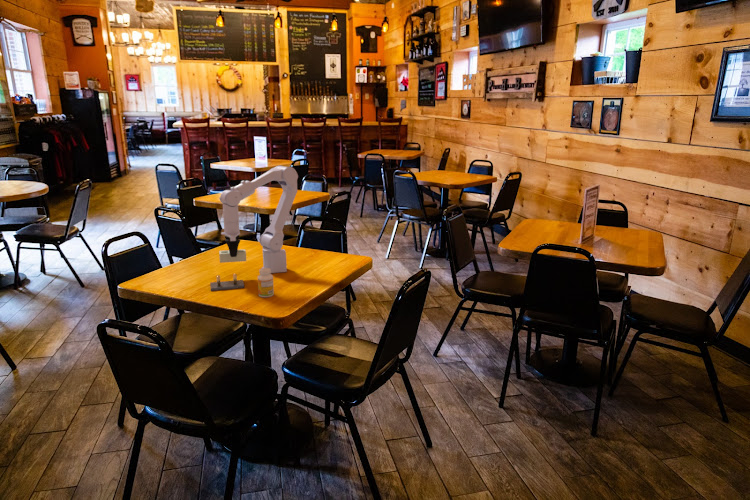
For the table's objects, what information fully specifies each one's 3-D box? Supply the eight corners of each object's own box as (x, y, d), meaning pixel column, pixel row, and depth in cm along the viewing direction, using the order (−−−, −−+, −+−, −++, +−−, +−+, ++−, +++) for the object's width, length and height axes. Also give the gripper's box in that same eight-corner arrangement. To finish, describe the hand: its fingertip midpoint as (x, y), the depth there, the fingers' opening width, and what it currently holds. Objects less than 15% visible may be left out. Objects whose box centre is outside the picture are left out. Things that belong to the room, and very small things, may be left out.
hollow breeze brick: (245, 257, 204) (245, 249, 203) (246, 261, 199) (245, 252, 198) (219, 259, 201) (219, 250, 200) (219, 262, 196) (219, 254, 195)
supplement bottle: (259, 292, 185) (258, 267, 182) (274, 292, 185) (273, 267, 183) (257, 297, 179) (256, 271, 177) (272, 297, 180) (271, 271, 178)
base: (242, 282, 196) (242, 271, 195) (244, 287, 190) (243, 276, 189) (210, 285, 193) (209, 273, 191) (210, 290, 186) (209, 279, 185)
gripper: (220, 218, 201) (222, 251, 205) (221, 225, 188) (223, 260, 191) (238, 217, 204) (240, 249, 207) (240, 224, 190) (242, 259, 194)
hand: (233, 254), depth 199 cm, fingers closed on hollow breeze brick, 5 cm apart
